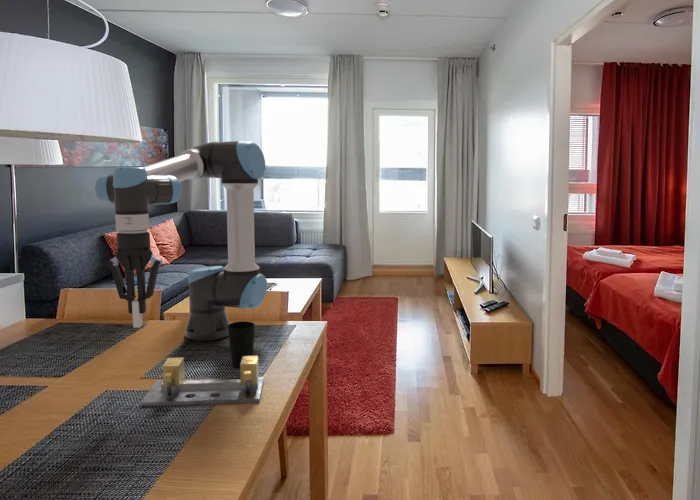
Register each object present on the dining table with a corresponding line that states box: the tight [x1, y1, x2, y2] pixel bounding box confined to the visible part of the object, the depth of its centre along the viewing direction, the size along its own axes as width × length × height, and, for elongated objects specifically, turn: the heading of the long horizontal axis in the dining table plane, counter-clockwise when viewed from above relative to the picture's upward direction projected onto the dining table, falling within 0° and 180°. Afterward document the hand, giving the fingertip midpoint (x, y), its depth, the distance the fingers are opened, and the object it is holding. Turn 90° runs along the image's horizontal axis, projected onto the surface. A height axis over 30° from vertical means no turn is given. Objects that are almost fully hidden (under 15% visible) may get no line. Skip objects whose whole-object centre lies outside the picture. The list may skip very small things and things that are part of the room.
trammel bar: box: [161, 355, 260, 395], centre depth 137 cm, size 10×24×7 cm, turn 95°
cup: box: [228, 320, 256, 370], centre depth 157 cm, size 8×8×12 cm
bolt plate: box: [140, 376, 265, 407], centre depth 138 cm, size 14×28×1 cm, turn 95°
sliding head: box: [161, 357, 186, 396], centre depth 136 cm, size 10×4×7 cm, turn 5°
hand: (138, 325), depth 135 cm, fingers closed
